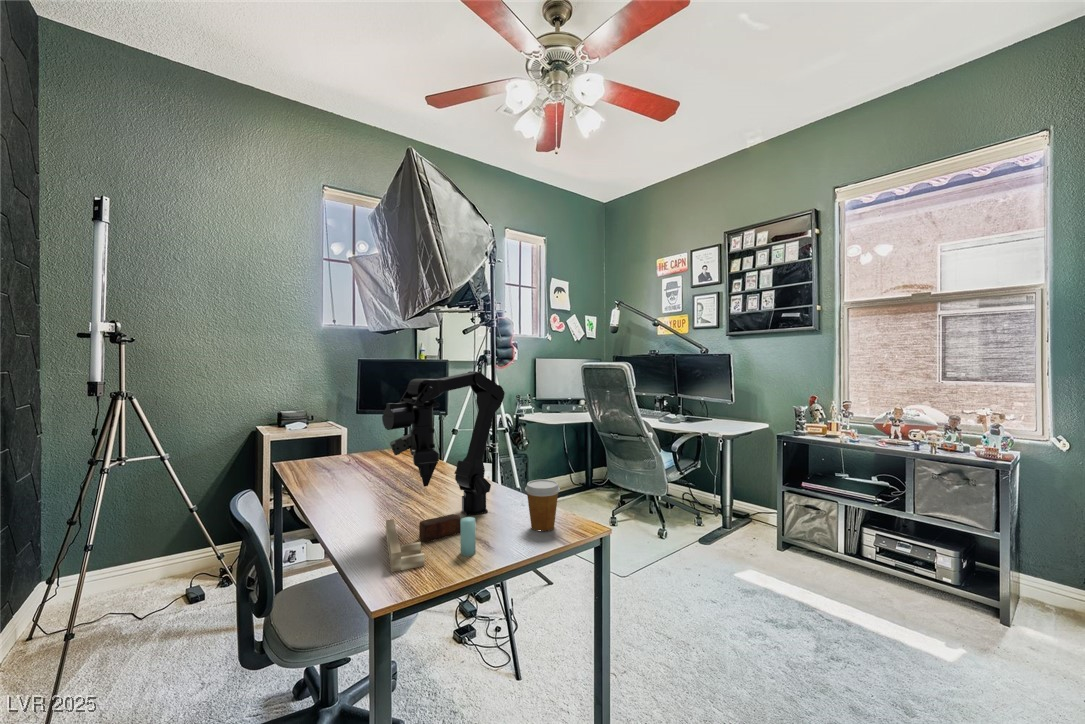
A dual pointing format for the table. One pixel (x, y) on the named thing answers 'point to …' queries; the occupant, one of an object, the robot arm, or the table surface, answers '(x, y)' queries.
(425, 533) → the brick
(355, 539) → the table surface
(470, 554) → the dowel
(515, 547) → the table surface
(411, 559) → the backstop fence
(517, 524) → the table surface
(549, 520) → the disposable coffee cup
